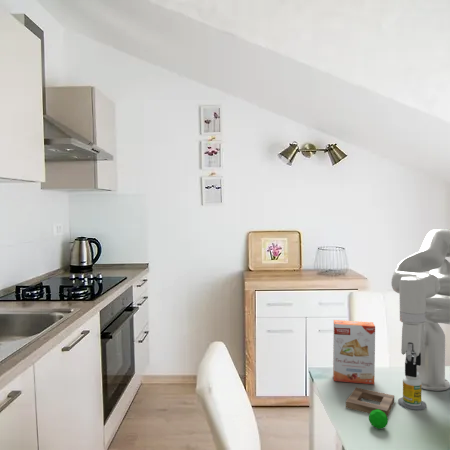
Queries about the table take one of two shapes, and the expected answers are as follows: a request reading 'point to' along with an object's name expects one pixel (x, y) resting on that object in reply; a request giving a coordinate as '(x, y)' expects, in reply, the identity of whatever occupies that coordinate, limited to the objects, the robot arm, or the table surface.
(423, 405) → the slate coaster
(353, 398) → the holder block
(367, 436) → the table surface
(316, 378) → the table surface
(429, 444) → the table surface
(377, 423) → the polyhedron
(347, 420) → the table surface
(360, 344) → the cracker box
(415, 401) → the supplement bottle
